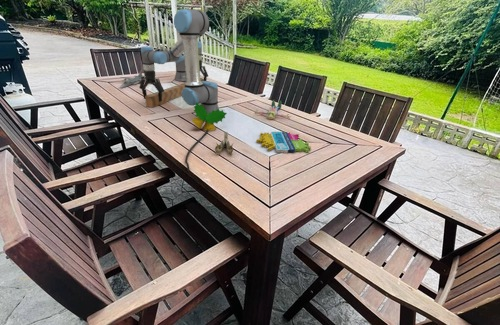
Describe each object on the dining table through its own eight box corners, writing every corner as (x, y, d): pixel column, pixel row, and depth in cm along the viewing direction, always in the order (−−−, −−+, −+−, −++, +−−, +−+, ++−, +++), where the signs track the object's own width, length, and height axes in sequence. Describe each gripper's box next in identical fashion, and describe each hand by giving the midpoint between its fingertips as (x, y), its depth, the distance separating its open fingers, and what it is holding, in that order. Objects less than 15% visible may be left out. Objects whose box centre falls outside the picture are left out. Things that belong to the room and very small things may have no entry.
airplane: (115, 80, 258) (112, 69, 253) (148, 78, 271) (147, 68, 266) (118, 90, 229) (115, 78, 224) (155, 87, 243) (153, 76, 238)
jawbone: (234, 135, 144) (233, 125, 135) (233, 160, 138) (232, 151, 129) (217, 135, 144) (216, 125, 135) (216, 160, 138) (214, 150, 129)
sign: (313, 150, 142) (258, 149, 139) (312, 153, 143) (258, 152, 140) (301, 132, 164) (254, 130, 161) (301, 134, 165) (254, 133, 162)
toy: (294, 102, 205) (291, 112, 179) (293, 111, 208) (289, 122, 182) (260, 97, 210) (251, 107, 184) (259, 106, 213) (250, 117, 187)
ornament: (218, 133, 171) (224, 110, 169) (221, 134, 163) (227, 111, 161) (186, 125, 162) (192, 101, 160) (189, 126, 155) (195, 101, 153)
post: (152, 107, 193) (150, 97, 189) (146, 106, 194) (144, 95, 190) (203, 87, 257) (203, 78, 253) (199, 86, 258) (198, 78, 254)
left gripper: (211, 60, 240) (211, 84, 251) (188, 57, 247) (189, 80, 258) (207, 61, 234) (208, 85, 245) (183, 58, 241) (185, 82, 252)
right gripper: (167, 71, 185) (170, 101, 195) (138, 67, 192) (142, 96, 202) (160, 73, 179) (163, 103, 189) (131, 69, 186) (135, 98, 196)
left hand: (198, 83), depth 251 cm, fingers open, 13 cm apart
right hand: (153, 99), depth 196 cm, fingers open, 13 cm apart
